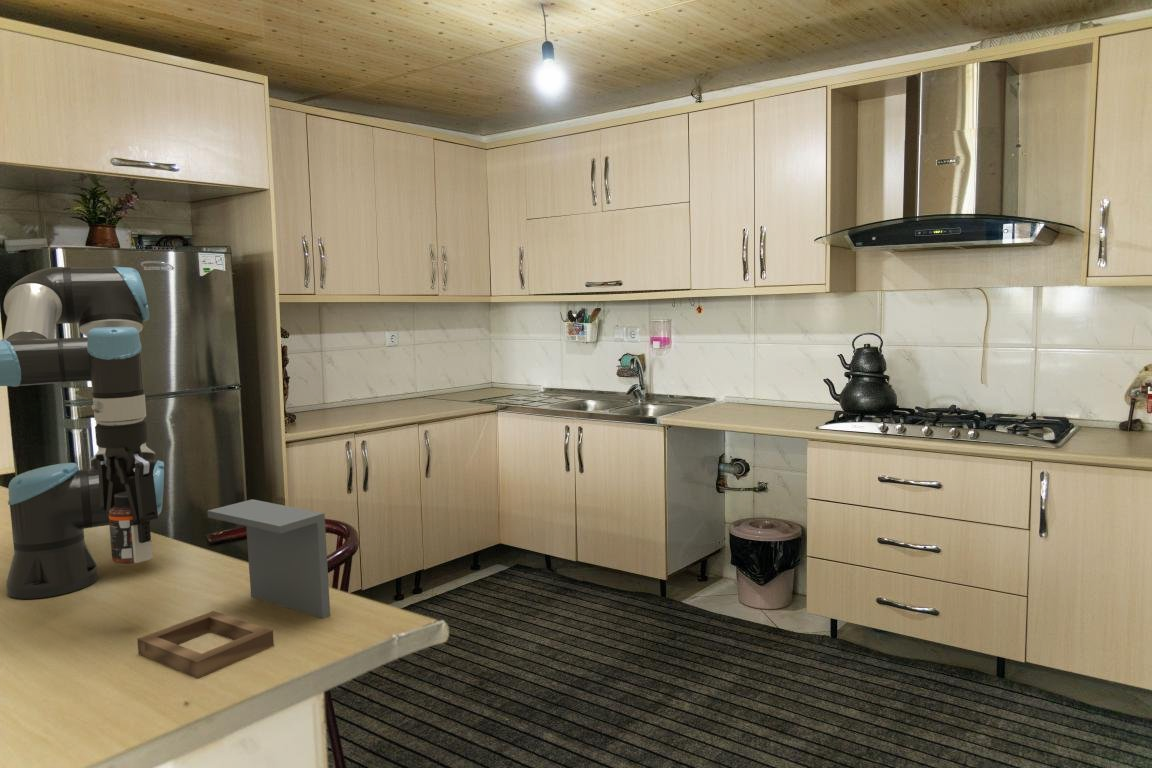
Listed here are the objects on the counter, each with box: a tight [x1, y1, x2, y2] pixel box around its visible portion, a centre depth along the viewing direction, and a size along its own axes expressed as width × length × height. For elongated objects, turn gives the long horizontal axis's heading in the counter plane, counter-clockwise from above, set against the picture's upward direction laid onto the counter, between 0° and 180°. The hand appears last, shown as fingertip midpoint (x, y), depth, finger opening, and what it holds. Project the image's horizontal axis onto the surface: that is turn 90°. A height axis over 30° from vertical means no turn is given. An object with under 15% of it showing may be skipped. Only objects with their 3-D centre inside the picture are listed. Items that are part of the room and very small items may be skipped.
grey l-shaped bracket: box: [206, 498, 331, 619], centre depth 143 cm, size 20×9×18 cm, turn 57°
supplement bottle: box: [108, 492, 153, 565], centre depth 137 cm, size 6×6×11 cm
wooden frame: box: [136, 610, 275, 679], centre depth 129 cm, size 16×13×2 cm
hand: (132, 556), depth 138 cm, fingers closed on supplement bottle, 6 cm apart
